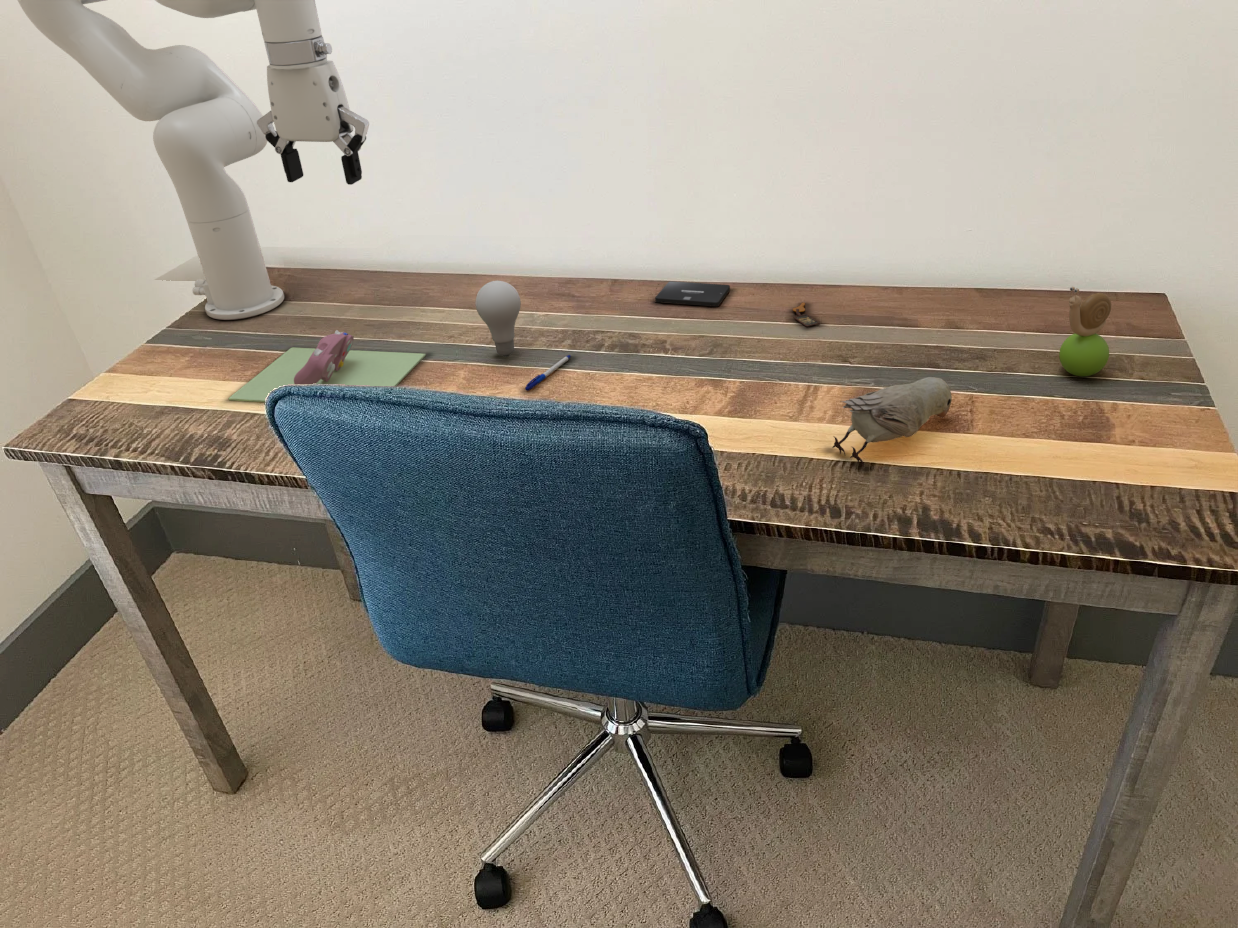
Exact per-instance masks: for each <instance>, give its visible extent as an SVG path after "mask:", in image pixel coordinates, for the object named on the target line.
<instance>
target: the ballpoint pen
mask: <svg viewBox="0 0 1238 928" xmlns="http://www.w3.org/2000/svg"><path fill="white" fill-rule="evenodd" d="M571 357H572V355H571V354H568V355H566V356H564V357H563V358H561V359H560V360H559V361H557V362H556V363H555V364H554V365H552V366H551V367H549V368H548V369H546V370H545V371H544V372H543V373H541V374H537V375H536V376H535V377H533V378H532V379H531V380H529V382H527V384H526V385H525V388H524V389H525V391H526V392H529V391H531V390H532V389H534V388H535V387H536V386H538V385H539V384H540V383H542V381H544V380H545V379H546V378H547V377H549V376H550V375H551V374H552V373H553V372H555V371H556V370H558V369H559V368H560V367H561V366H563V365H564V364H565V363H567V362H568V361H570V359H571Z"/></svg>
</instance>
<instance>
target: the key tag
mask: <svg viewBox="0 0 1238 928" xmlns="http://www.w3.org/2000/svg"><path fill="white" fill-rule="evenodd" d="M805 306H806V302H805V301H804V302H801V303H800V305H799V306H796V307H793V308H792V312H794V313H796V314H795V315H796V316H793V320H796V321H797V322H798V323H799V324H801V325H803V326H804V327H806V328H810V327H813V326H816V325H817V326H818V325H820V324H821V322H819V321H818V320H816V319H815V318H814V317H812V316H810V315H809V314H807V313H805V314H801V313H804V312H806V308H805Z"/></svg>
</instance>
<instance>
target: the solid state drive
mask: <svg viewBox="0 0 1238 928" xmlns="http://www.w3.org/2000/svg"><path fill="white" fill-rule="evenodd" d="M730 290H731V285H729V284H718V283H703V282H689V281H675V280H670V281H668V282H667V283H666V284H665V285H664V286H663V287H662V289H661V290H660V291H659V292H658V293H657V294H656V296H655V299H654V300H655V302H656V303H665V304H676V305H677V304H678V305H690V306H691V305H692V306H703V307H718V306H720V304H721V303H722V301H723V300H724V298H725V297H726V296H727V295H728V293H729V292H730Z"/></svg>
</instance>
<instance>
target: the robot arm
mask: <svg viewBox="0 0 1238 928" xmlns="http://www.w3.org/2000/svg"><path fill="white" fill-rule="evenodd" d="M106 1H107V0H17V2H18V4H19V6H20V7H21V9H22V11H23V13H24V14H25V15H26V17H27V18H28V19H29V20H30V22H31V23H32V24H33V26H35V28H36V29H37V30H38V31H39V32H40V33H41V34H42V35H43V36H45V37H46V38H47V39H48V40H49V41H50V42H51V43H53V44H54V45H55V46H56V47H58V48H59V49H61V50H62V51H63V52H65V53H66V54H67V55H68V56H70V58H72V59H73V60H75V61H76V62H77V63H78V64H79V65H80V66H82V68H83V69H84V70H85V71H86V72H87V73H88V74H89V76H91V77H92V79H94V80H95V81H96V82H97V84H98V85H100V87H102V88H103V89H104V90H105V91H106V92H107V94H109V95H110V96H111V97H112V98H113V99H114V100H115V101H116V102H117V103H118V104H119V105H120V106H121V107H122V108H123V109H124V110H125V111H126V112H127V113H128V114H130V115H131V116H132V117H134V118H135V119H137V120H139V121H142V122H155V121H157V122H156V124H155V126H154V128H153V131H152V133H153V134H152V140H153V145H154V148H155V151H156V153H157V156H158V158H159V159H160V161H161V163H162V165H163V166H164V169H165V170H166V173H167V174H168V176H169V178H170V180H171V182H172V184H173V187H174V188H175V191H176V194H177V197H178V200H179V202H180V205H181V208H182V211H183V214H184V217H185V220H186V223H187V226H188V228H189V232H190V235H191V239H192V242H193V244H194V248H195V250H196V253H197V257H198V259H199V262H200V263H199V264H200V265H201V269H202V272H203V275H204V278H205V279H204V278H203V279H202V278H197V279H196V280H195V281H194V286H193V287H192V294H193V295H194V296H205V297H206V300H207V302H206V303H205V305H204V309H205V313H206V315H207V316H208V317H210V318H212V319H215V320H223V321H233V320H243V319H247V318H252V317H256V316H258V315H261V314H264V313H267V312H270V311H271V310H274V309H275V308H277V307H278V306H280V305H281V304H282V303H283V301H284V300H285V293H284V290H283V289H282V288H280V287H279V286H277V285H273V284H272V283H271V280H270V277H269V271H268V269H267V265H266V263H265V259H264V256H263V252H262V249H261V245H260V241H259V238H258V234H257V231H256V227H255V224H254V221H253V217H252V214H251V210H250V207H249V204H248V201H247V197H246V195H245V192H244V191H243V190H242V188H241V186H240V185H239V184H238V183H237V181H235V180H234V179H233V178H232V177H231V176H230V175H229V174H228V173H227V171H226V170H225V168H226V167H228V166H230V165H232V164H235V163H238V162H241V161H243V160H246V159H249V158H251V157H253V156H256V155H257V154H259V153H261V152H262V151H263V150H264V149H265V147H266V146H267V143H269V144H270V145H271V146H272V147H273V148H274V151H275V153H276V154H278V155H279V156H280V159H281V163H282V166H283V171H284V173H285V176H286V177H285V178H286V181H287V182H288V183H293V182H296V181H297V180H300V179H302V178H303V177H304V169H303V166H302V162H301V157H300V153H299V151H298V148H294V146H295V144H296V142H304V143H305V142H307V143H308V142H309V143H310V142H311V143H312V142H313V143H319V142H320V143H331V142H332V143H334V145H336V147H337V148H338V149H339V150H340V151H341V152H342V154H343V155H341V157H340V159H341V165H342V170H343V174H344V178H345V183H346V184H347V185H349V186H351V185H354V184H355V183H358V182H359V181H361V180H362V179H363V175H362V174H363V170H362V166H361V159H360V155H359V151H361V150H362V146H363V145H364V143H365V142H366V140H367V134H368V132H369V131H368V130H369V126H370V121H369V120H368V119H366V118H365V117H363V116H361V115H359V114H357V113H356V112H354V111H352V110H351V109H350V105H349V101H348V97H347V95H346V91H345V88H344V84H343V82H342V79H341V76H340V74H339V72H338V70H337V67H336V64H335V62H334V61H333V60H328V55H331V54H332V52H333V47H332V44H331V43H328V42H327V43H326V42H325V40H324V36H323V33H322V28H321V24H320V19H319V14H318V10H317V5H316V4H317V3H316V0H154V1H155V2H156V3H158V4H160V5H161V6H164V7H166V8H169V9H171V10H174V11H176V12H180V13H182V14H184V15H187V16H191V17H195V18H201V19H215V18H219V17H220V18H221V17H223V16H228V15H233V14H238V13H243V12H244V13H245V12H249V11H255V10H256V14H257V17H258V22H259V27H260V31H261V35H262V38H263V43H264V47H265V51H266V55H267V61H268V63H269V65H266V82H267V92H268V98H269V105H270V110H269V111H268V112H266V113H264V114H263V113H262V111H260V109H259V107H258V106H257V105H256V104H255V103H254V102H253V100H252V99H251V98H250V97H249V96H248V95H247V94H246V93H245V92H244V91H243V90H242V89H241V87H239V86H238V85H237V84H236V83H235V82H234V81H233V80H232V79H231V78H230V77H229V76H228V74H226V73H225V72H224V70H223V69H222V68H220V66H218V64H217V63H216V62H215V61H214V60H213V59H211V57H210V56H208V55H207V54H206V53H204V52H203V51H202V50H200V49H198V48H195V47H193V46H190V45H186V44H175V45H169V46H165V47H160V48H156V49H151V48H147V47H144V46H143V45H141V43H139V42H138V41H137V40H136V39H135V38H134V37H132V35H130V33H129V32H128V31H127V30H126V29H125V27H123V26H121V24H119V23H118V22H116V21H114V20H113V19H111V18H110V17H108V16H105V15H104V14H102V13H100V12H97V11H95V10H92V9H91V8H89V7H87V6H85V5H88V4H93V3H100V2H106ZM273 125H274V126H273ZM353 132H354V135H353V134H351V133H353Z"/></svg>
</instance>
